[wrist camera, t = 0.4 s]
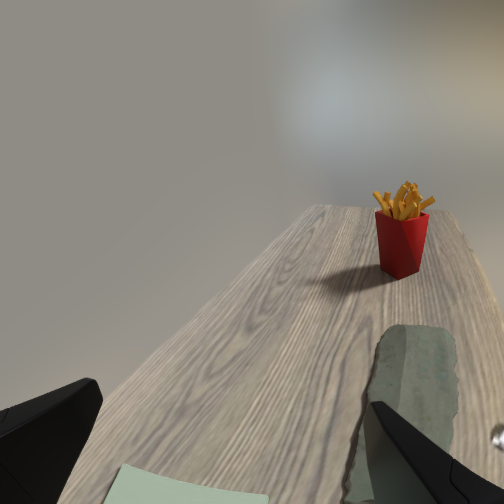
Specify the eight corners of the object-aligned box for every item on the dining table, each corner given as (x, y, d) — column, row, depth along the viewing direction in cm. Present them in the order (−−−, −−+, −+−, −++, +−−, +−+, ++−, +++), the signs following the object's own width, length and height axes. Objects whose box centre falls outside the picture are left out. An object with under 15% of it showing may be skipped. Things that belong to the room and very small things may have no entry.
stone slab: (449, 343, 28) (378, 331, 32) (456, 327, 27) (383, 313, 31) (438, 516, 11) (327, 504, 15) (455, 508, 9) (334, 497, 14)
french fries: (372, 267, 46) (371, 179, 40) (406, 255, 48) (407, 174, 42) (406, 290, 38) (411, 189, 32) (439, 274, 40) (446, 183, 34)
